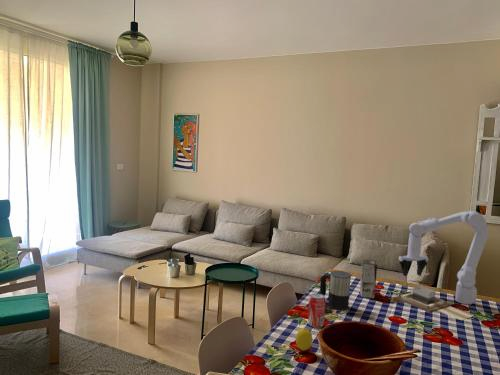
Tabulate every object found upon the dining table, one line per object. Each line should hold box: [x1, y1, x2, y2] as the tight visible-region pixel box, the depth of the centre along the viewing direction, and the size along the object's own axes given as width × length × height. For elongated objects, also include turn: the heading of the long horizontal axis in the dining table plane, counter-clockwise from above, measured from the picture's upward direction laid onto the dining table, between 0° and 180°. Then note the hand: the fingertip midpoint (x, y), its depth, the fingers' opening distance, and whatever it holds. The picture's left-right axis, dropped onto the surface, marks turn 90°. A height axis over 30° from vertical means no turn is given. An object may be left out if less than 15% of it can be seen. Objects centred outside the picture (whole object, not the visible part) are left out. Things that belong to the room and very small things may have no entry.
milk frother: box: [319, 270, 352, 313], centre depth 173 cm, size 14×16×15 cm
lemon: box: [295, 327, 313, 352], centre depth 135 cm, size 6×6×8 cm
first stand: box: [436, 305, 476, 321], centre depth 171 cm, size 11×11×2 cm
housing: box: [412, 285, 436, 304], centre depth 183 cm, size 5×8×6 cm, turn 34°
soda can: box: [307, 292, 327, 329], centre depth 155 cm, size 6×6×12 cm
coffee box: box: [359, 259, 378, 299], centre depth 193 cm, size 9×6×16 cm
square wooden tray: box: [392, 291, 453, 313], centre depth 183 cm, size 18×18×3 cm
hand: (411, 275), depth 193 cm, fingers open, 7 cm apart
